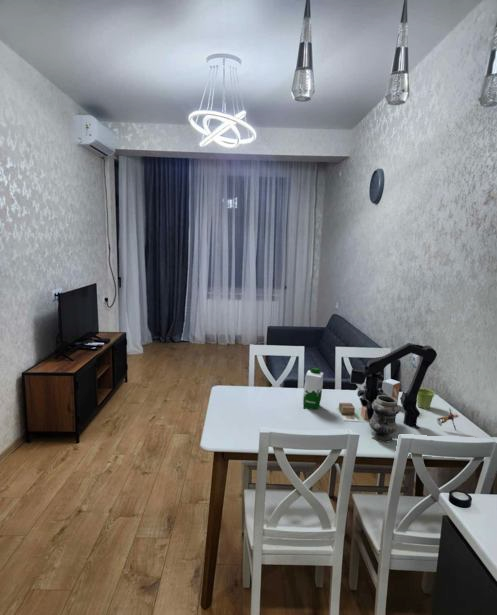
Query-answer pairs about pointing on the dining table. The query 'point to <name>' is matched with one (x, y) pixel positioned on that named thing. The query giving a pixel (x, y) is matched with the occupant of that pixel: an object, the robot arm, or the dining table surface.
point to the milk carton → (313, 389)
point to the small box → (391, 388)
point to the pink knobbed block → (364, 413)
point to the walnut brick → (346, 409)
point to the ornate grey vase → (384, 418)
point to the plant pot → (424, 398)
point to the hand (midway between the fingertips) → (367, 416)
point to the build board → (354, 418)
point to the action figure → (447, 418)
